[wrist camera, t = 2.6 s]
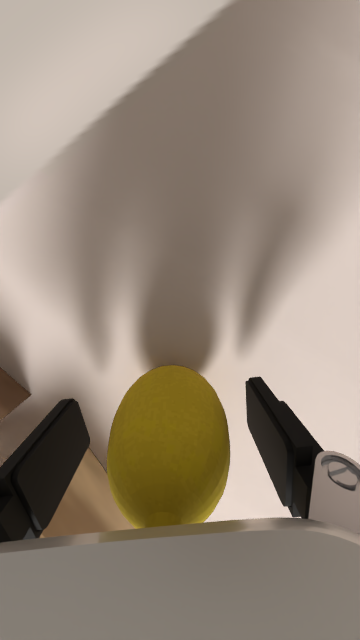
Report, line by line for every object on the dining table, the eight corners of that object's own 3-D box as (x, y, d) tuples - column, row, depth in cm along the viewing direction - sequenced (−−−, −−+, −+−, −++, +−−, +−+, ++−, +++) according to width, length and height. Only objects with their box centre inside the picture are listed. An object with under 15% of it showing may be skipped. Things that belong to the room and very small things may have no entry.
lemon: (122, 359, 13) (25, 503, 5) (198, 333, 12) (228, 447, 4) (153, 421, 14) (117, 610, 6) (223, 400, 13) (280, 580, 6)
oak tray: (85, 442, 14) (16, 563, 8) (149, 534, 17) (131, 674, 11) (-35, 482, 16) (-168, 612, 10) (42, 562, 19) (-23, 700, 13)
